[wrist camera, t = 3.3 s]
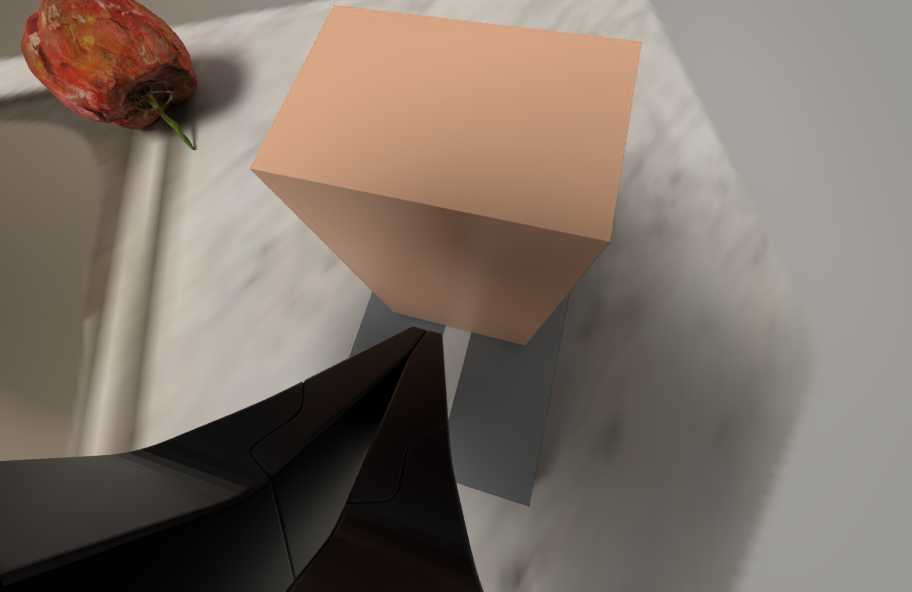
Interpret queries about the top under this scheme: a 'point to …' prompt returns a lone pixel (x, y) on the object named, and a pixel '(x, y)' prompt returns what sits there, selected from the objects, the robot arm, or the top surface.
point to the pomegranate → (109, 60)
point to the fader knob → (456, 161)
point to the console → (487, 396)
